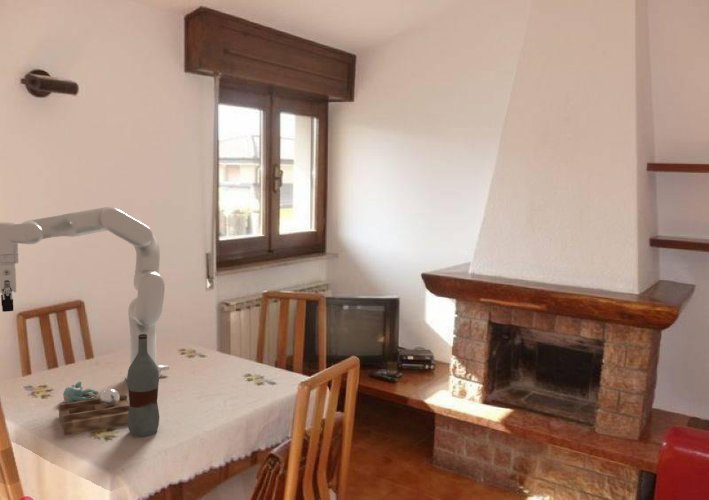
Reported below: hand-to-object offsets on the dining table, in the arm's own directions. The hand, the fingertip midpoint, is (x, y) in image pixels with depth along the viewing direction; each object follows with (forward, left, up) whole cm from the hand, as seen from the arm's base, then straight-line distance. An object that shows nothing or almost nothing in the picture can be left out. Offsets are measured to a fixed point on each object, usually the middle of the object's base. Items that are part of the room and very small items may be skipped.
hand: (7, 308), depth 203 cm
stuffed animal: (-21, +15, -32) cm, 40 cm away
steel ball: (-27, +36, -25) cm, 51 cm away
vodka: (-34, +52, -31) cm, 69 cm away
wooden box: (-23, +36, -31) cm, 53 cm away
